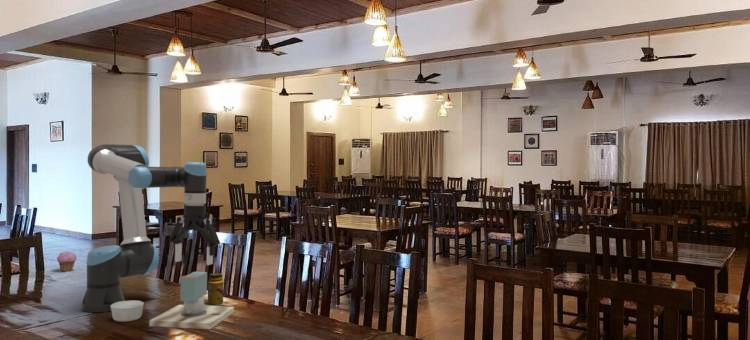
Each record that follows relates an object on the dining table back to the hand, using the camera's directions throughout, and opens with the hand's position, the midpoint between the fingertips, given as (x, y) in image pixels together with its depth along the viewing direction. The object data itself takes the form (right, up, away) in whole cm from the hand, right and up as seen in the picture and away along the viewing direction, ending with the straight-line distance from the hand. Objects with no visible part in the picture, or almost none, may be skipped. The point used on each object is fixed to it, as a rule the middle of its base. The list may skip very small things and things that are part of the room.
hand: (193, 262), depth 202 cm
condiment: (+1, -20, +22) cm, 30 cm away
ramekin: (-24, -20, 0) cm, 32 cm away
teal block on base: (0, -18, 0) cm, 18 cm away
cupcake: (-93, -18, +84) cm, 126 cm away
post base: (0, -20, 0) cm, 20 cm away
